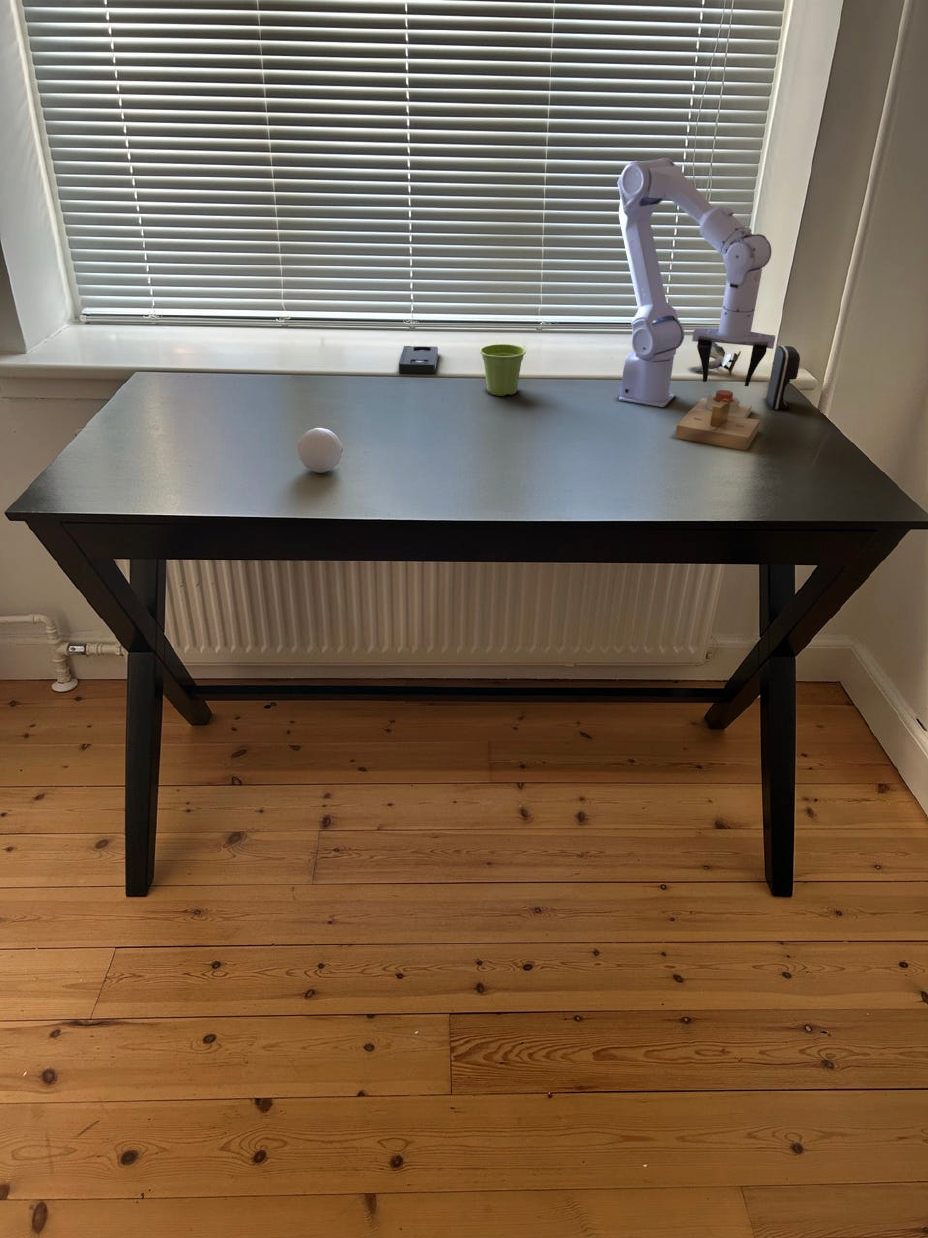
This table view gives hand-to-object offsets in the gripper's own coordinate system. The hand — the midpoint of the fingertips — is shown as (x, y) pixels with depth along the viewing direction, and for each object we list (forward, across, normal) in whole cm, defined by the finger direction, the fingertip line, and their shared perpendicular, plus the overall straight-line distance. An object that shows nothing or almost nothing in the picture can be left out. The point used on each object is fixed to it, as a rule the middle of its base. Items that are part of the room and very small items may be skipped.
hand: (725, 382), depth 166 cm
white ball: (+8, +62, +46) cm, 78 cm away
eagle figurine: (+8, +4, -32) cm, 33 cm away
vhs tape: (+8, +68, -16) cm, 70 cm away
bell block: (+8, 0, -4) cm, 9 cm away
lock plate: (+8, 0, +8) cm, 11 cm away
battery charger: (+8, -11, -14) cm, 19 cm away
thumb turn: (+5, 0, +8) cm, 10 cm away
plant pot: (+8, +45, -3) cm, 45 cm away
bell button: (+5, 0, -4) cm, 6 cm away
